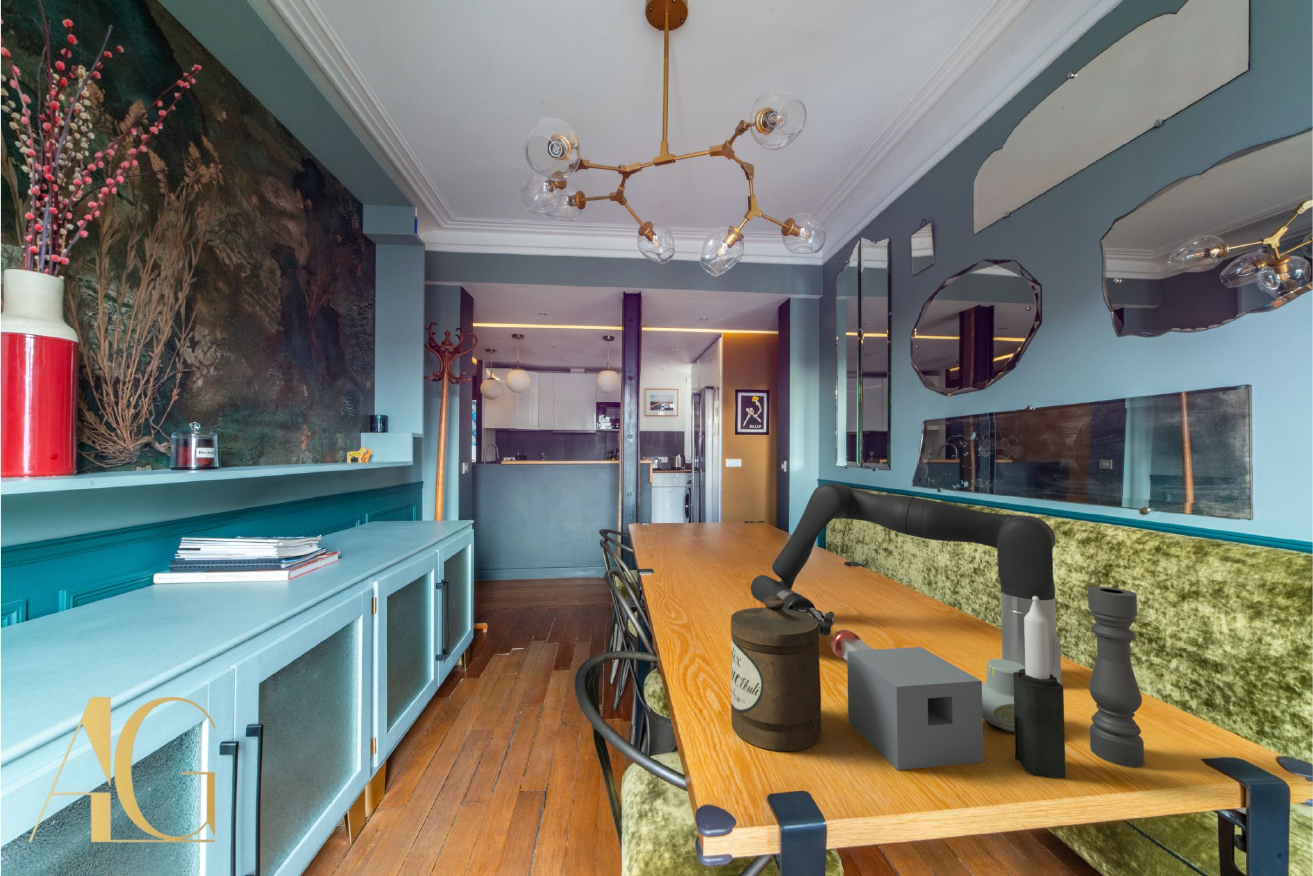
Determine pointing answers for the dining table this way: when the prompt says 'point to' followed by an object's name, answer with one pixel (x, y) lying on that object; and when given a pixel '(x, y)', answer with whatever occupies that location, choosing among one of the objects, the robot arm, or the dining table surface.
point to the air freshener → (1000, 693)
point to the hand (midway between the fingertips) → (826, 631)
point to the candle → (1038, 704)
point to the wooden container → (775, 677)
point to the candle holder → (1114, 678)
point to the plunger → (847, 643)
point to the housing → (915, 707)
